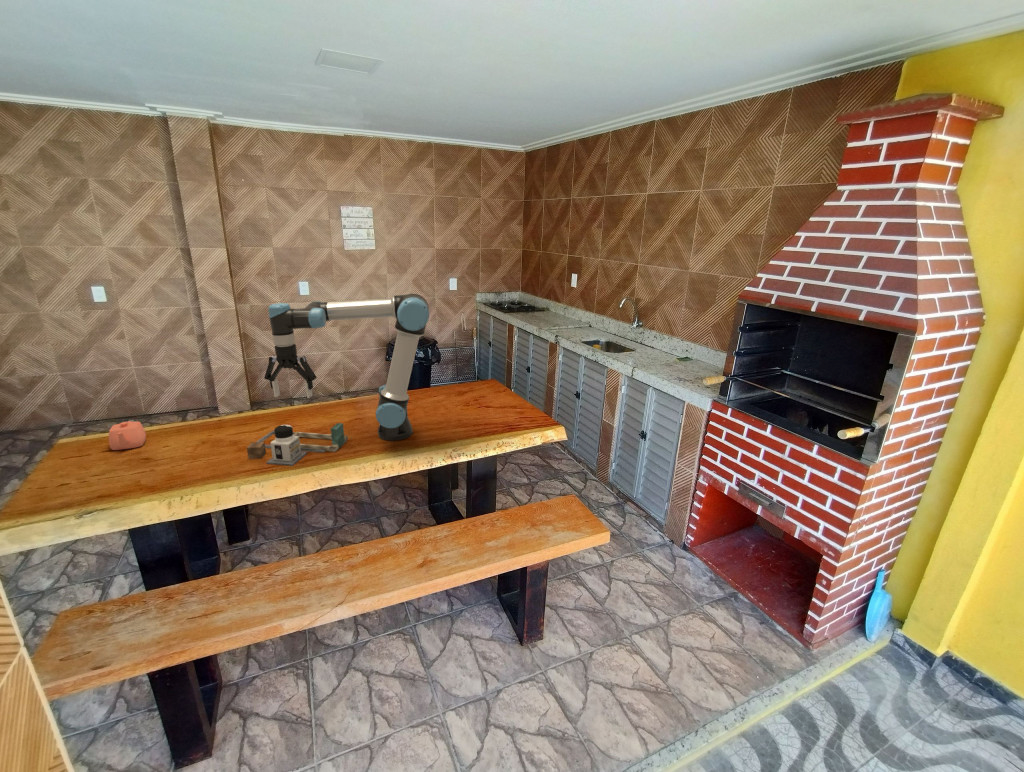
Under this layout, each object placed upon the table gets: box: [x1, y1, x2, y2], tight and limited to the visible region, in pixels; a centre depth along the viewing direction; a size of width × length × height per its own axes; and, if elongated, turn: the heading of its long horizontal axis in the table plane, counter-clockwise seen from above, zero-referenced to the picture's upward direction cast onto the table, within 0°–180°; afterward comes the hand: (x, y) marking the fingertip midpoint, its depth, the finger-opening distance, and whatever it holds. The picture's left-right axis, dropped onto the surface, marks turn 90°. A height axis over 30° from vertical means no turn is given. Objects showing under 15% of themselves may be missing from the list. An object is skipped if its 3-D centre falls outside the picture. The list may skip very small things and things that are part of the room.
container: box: [270, 424, 301, 461], centre depth 195 cm, size 8×8×13 cm
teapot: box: [108, 420, 147, 451], centre depth 203 cm, size 12×18×10 cm, turn 25°
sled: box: [293, 422, 349, 453], centre depth 208 cm, size 23×12×9 cm, turn 82°
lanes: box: [255, 430, 326, 454], centre depth 211 cm, size 32×14×1 cm, turn 82°
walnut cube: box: [246, 441, 267, 460], centre depth 198 cm, size 5×5×5 cm
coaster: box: [266, 451, 308, 467], centre depth 197 cm, size 11×11×1 cm
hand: (293, 396), depth 195 cm, fingers open, 13 cm apart
